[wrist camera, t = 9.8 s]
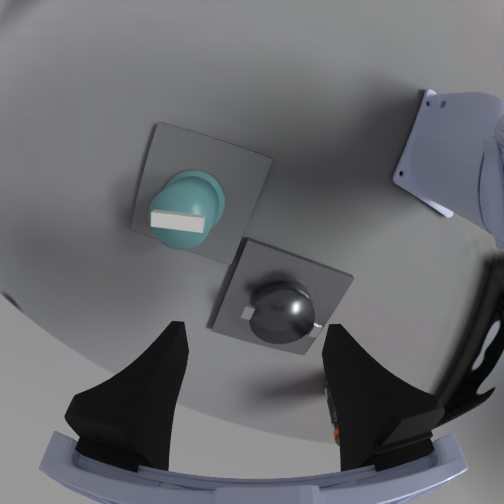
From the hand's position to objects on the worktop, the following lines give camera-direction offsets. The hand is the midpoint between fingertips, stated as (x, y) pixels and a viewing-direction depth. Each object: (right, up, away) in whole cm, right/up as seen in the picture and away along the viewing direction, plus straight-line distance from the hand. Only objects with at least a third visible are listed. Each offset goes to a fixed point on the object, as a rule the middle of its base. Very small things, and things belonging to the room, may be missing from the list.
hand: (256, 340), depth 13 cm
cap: (-5, +8, +7) cm, 12 cm away
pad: (-5, +9, +7) cm, 12 cm away
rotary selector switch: (+2, 0, +12) cm, 12 cm away
